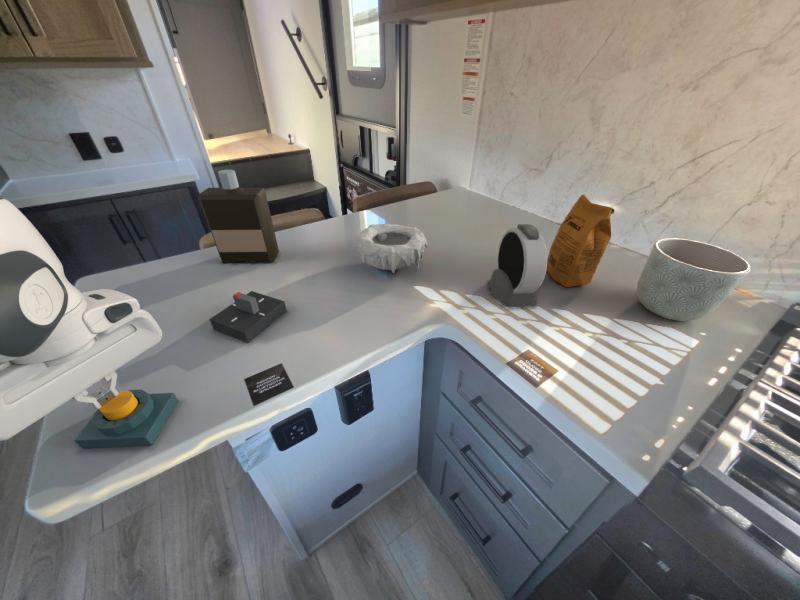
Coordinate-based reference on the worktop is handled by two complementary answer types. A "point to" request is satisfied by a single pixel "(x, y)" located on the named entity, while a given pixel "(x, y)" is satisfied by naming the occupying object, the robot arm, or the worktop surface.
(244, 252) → the bottle
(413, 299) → the worktop surface
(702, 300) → the planter
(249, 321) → the dark grey flat block
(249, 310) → the grey rectangular block
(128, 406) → the trigger button
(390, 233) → the bowl
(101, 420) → the teal button mount
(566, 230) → the coffee package
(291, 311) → the worktop surface
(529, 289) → the alarm clock
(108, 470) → the worktop surface
